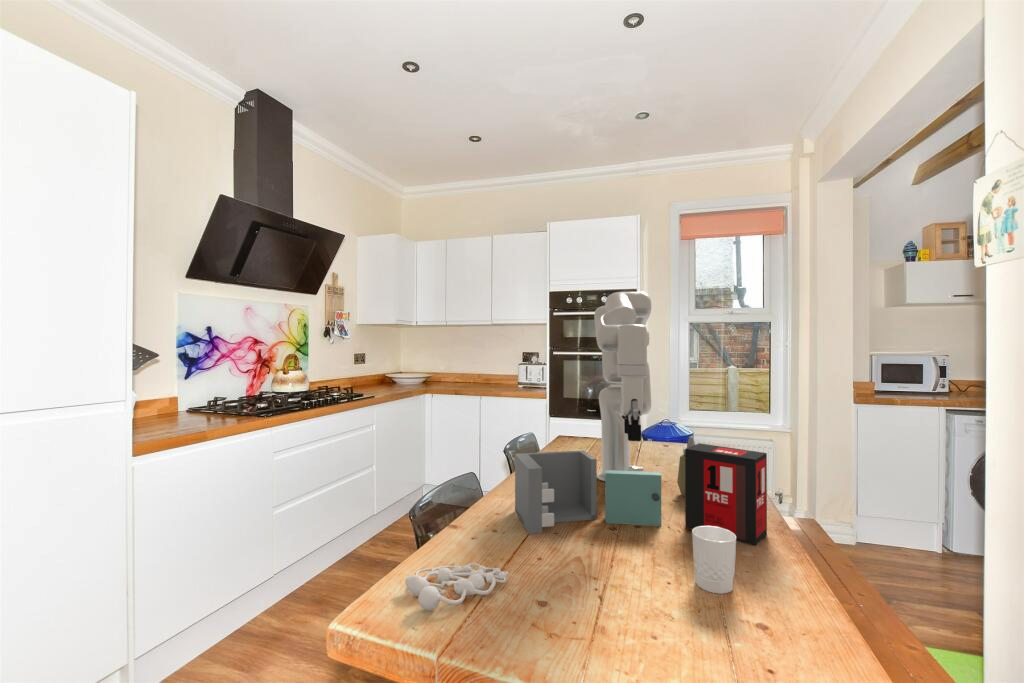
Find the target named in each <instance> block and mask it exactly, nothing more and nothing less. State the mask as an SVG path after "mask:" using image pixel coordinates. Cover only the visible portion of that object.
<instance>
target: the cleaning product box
mask: <svg viewBox="0 0 1024 683" xmlns="http://www.w3.org/2000/svg"><path fill="white" fill-rule="evenodd" d="M685 448H686V449H685V497H684V500H685V501H684V502H685V504H684V505H685V511H684V514H685V518H684V520H685V528H687V529H690V530H693V528H695V527H698V526H714V527H720V528H723V529H726V530H729V531H731V532H732V533H734V534H735V535H736V542H738V543H742V544H746V545H750V546H752V547H757V545H759V543H760V542H762V541H763V539H765V538H766V536H768V530H767V529H768V528H767V526H768V521H767V518H768V512H767V511H768V510H767V508H768V506H767V505H768V498H767V497H768V496H767V495H768V490H767V489H768V487H767V486H768V485H767V482H768V479H767V478H768V477H767V476H768V475H767V474H768V473H767V470H768V469H767V466H768V464H767V463H768V462H767V460H768V459H767V458H768V457H767V456H768V454H767V452H764V451H763V452H761V451H757V450H756V451H755V450H747V449H743V448H742V449H741V448H734V447H727V446H721V445H720V446H719V445H712V444H706V443H696V444H695V445H693V446H691V447H688V448H687V447H685Z"/></svg>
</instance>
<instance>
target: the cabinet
mask: <svg viewBox="0 0 1024 683" xmlns="http://www.w3.org/2000/svg"><path fill="white" fill-rule="evenodd" d="M597 461H598V460H597V458H595V457H594V456H592V455H591V454H589V453H588V452H586V451H585V450H568V451H567V450H565V451H549V452H548V451H546V452H545V451H544V452H527V453H525V452H524V453H515V454H514V512H515V514H516V516H517V517H518V519H519V520H520V522H521V523H522V525H523V527H524V529H525V531H526V533H527V534H528V535H534V534H535V535H536V534H537V535H538V534H543V528H547V527H548V528H549V527H554V526H555V523H565V522H567V523H568V522H579V521H591V520H597V517H598V516H597V515H598V514H597V513H598V512H597V494H598V493H597V486H598V485H597V482H598V480H597V479H598V478H597V474H598V472H597V469H598V468H597V466H598V465H597Z"/></svg>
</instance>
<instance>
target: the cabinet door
mask: <svg viewBox="0 0 1024 683" xmlns="http://www.w3.org/2000/svg"><path fill="white" fill-rule="evenodd" d="M604 482H605V483H604V492H605V493H604V501H605V502H604V505H605V506H604V511H605V512H604V513H605V514H604V516H605V517H604V520H605V523H606V524H618V525H619V524H621V525H638V526H654V527H656V526H657V527H662V473H661V472H660V471H643V472H642V471H615V470H605V481H604Z"/></svg>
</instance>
